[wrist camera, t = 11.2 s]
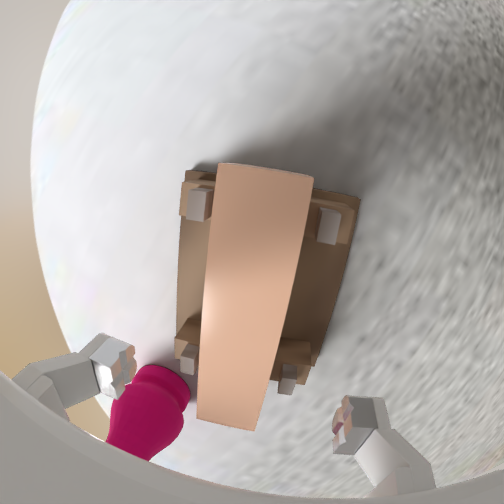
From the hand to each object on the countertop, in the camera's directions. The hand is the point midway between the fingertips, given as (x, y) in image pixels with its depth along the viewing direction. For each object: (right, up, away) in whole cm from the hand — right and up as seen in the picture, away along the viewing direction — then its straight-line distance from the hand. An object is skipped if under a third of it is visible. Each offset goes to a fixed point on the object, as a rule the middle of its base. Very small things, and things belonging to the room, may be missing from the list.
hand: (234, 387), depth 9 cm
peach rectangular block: (+1, +2, +8) cm, 8 cm away
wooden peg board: (+1, +3, +12) cm, 12 cm away
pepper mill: (-9, -9, +18) cm, 22 cm away
